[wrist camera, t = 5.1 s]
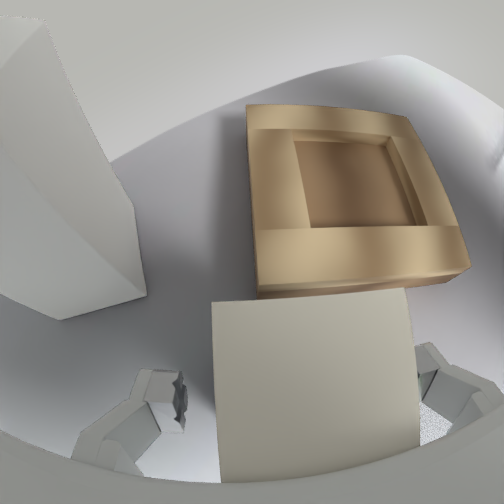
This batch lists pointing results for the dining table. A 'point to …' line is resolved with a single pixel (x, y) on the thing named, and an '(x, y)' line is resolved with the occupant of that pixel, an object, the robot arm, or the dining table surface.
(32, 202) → the milk carton
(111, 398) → the dining table surface
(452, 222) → the square wooden tray
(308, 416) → the plain greyish beige box
